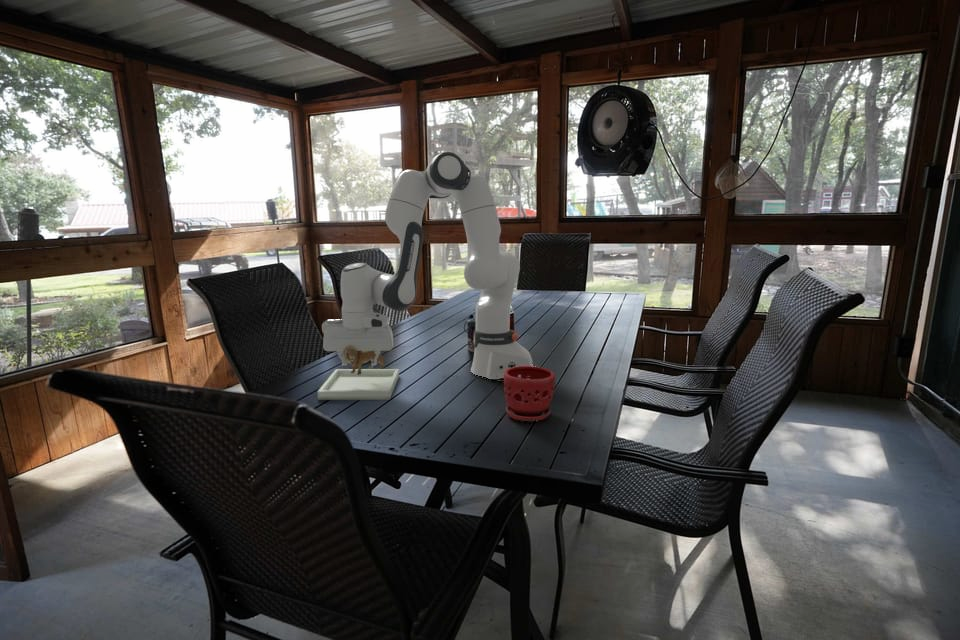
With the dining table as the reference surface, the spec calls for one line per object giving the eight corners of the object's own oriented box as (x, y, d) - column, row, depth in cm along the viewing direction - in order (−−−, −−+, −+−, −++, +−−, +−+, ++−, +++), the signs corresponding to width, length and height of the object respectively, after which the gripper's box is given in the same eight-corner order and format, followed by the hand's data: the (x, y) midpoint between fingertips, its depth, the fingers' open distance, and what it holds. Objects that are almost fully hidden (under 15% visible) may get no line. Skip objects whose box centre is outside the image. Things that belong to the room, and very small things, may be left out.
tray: (399, 376, 165) (398, 369, 164) (389, 399, 145) (389, 391, 145) (336, 376, 164) (335, 369, 164) (318, 399, 145) (317, 391, 144)
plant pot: (561, 422, 131) (563, 377, 128) (513, 428, 127) (514, 382, 125) (541, 403, 143) (542, 362, 141) (496, 408, 140) (497, 366, 137)
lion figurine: (351, 379, 149) (349, 349, 147) (340, 375, 152) (338, 346, 150) (390, 367, 160) (389, 339, 158) (378, 364, 163) (377, 336, 161)
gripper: (318, 322, 147) (321, 368, 150) (391, 321, 148) (392, 367, 151) (323, 317, 153) (326, 361, 156) (393, 316, 154) (394, 360, 157)
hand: (359, 364), depth 154 cm, fingers closed on lion figurine, 7 cm apart
